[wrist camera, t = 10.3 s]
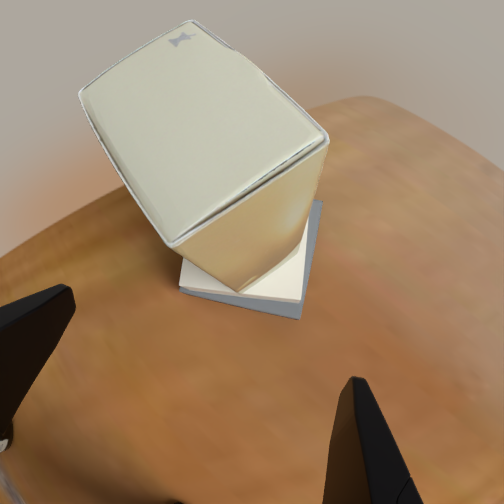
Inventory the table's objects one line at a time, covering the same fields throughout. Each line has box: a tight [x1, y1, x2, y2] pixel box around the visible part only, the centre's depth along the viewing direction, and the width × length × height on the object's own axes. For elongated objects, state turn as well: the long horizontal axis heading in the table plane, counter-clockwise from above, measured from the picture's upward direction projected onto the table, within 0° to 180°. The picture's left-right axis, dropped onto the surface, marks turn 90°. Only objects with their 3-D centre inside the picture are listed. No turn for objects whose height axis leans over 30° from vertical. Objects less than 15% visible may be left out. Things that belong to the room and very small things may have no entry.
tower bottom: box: [179, 199, 323, 320], centre depth 22 cm, size 8×8×2 cm
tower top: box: [179, 217, 309, 303], centre depth 20 cm, size 7×7×2 cm
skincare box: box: [78, 20, 330, 294], centre depth 13 cm, size 6×4×12 cm
